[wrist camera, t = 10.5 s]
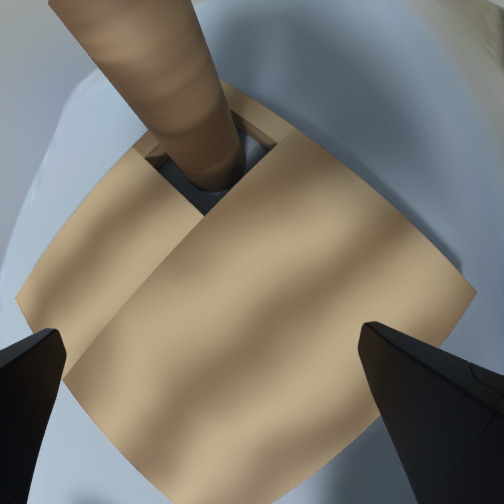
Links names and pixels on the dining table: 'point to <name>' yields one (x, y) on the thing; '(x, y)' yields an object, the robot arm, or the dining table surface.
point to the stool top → (235, 312)
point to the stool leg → (163, 80)
